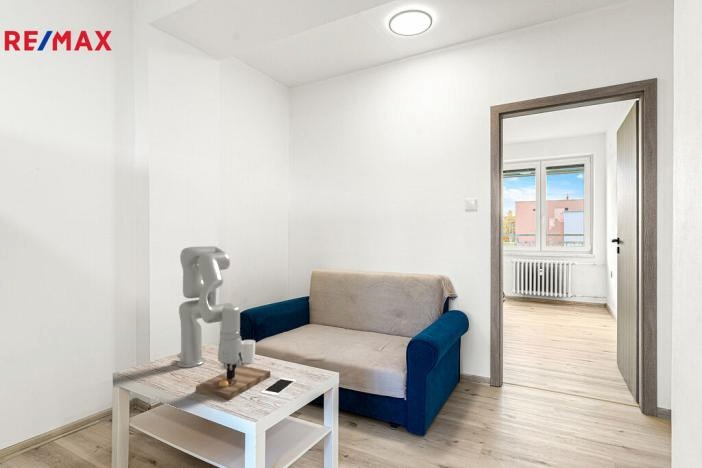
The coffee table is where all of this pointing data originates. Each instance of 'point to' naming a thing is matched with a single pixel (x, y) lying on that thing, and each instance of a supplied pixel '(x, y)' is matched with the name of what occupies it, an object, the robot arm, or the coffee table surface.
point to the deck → (233, 382)
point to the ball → (223, 383)
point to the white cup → (248, 351)
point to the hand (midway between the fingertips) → (230, 378)
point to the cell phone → (278, 386)
